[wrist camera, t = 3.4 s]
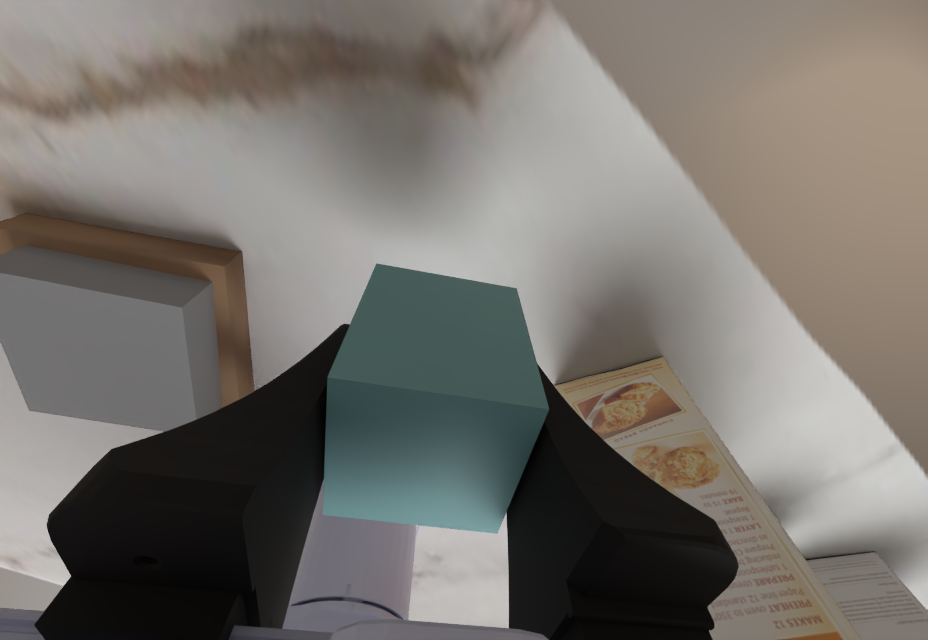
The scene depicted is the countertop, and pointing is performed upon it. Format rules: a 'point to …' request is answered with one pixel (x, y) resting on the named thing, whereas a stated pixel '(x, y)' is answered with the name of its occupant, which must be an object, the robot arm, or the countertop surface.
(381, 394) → the teal block
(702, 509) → the coffeecake box
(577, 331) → the countertop surface
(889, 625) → the supplement box
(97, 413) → the gray square slab
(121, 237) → the walnut slab
